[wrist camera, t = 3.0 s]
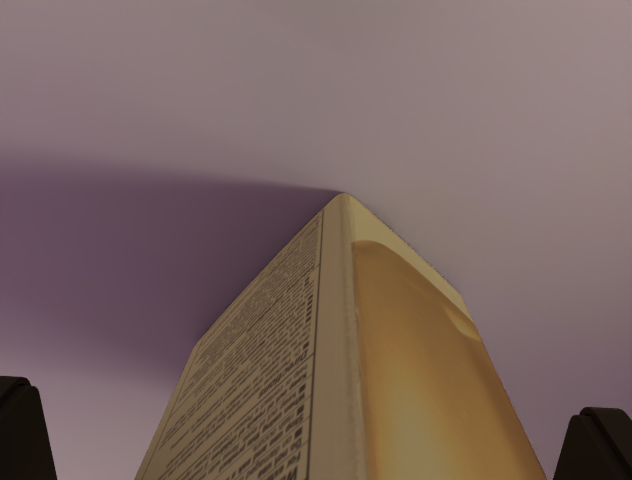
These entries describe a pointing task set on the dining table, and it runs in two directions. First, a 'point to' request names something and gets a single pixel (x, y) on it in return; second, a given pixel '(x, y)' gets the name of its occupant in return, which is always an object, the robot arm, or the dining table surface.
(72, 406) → the dining table surface
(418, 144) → the dining table surface
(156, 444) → the skincare box
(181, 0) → the dining table surface
